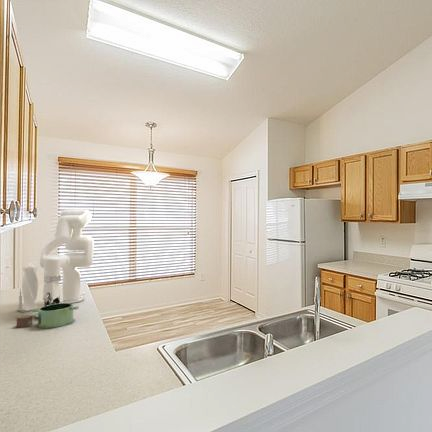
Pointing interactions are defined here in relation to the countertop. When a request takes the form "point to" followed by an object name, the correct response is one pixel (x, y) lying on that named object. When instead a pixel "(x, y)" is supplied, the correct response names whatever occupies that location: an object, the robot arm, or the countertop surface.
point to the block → (24, 321)
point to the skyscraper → (29, 288)
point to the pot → (55, 315)
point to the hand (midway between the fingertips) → (52, 309)
